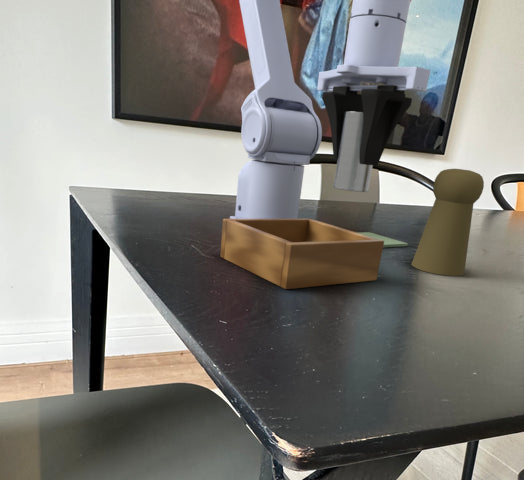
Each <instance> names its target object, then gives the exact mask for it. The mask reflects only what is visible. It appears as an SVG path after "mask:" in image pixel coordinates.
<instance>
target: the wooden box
mask: <svg viewBox="0 0 524 480" xmlns="http://www.w3.org/2000/svg"><path fill="white" fill-rule="evenodd" d="M220 240H221V242H220V254H219V255H220V258H222V259H224V260H226V261H227V262H230V263H232V264H234V265H236V266H238V267H240V268H242V269H244V270H245V271H247V272H250V273H251V274H253V275H256V276H258V277H260V278H262V279H264V280H266V281H267V282H270V283H272V284H274V285H276V286H278V287H280V288H281V289H284V290H294V289H303V288H313V287H323V286H332V285H333V286H334V285H343V284H351V283H363V282H372V281H373V282H374V281H377V279H378V274H379V269H380V264H381V259H382V255H383V249H384V248H383V245H384V241H383V240H379V239H376V238H373V237H369V236H366V235H363V234H360V233H359V232H357V231H353V230H349V229H347V228H343V227H339V226H336V225H334V224H330V223H326V222H323V221H319V220H316V219H313V218H305V217H304V218H302V217H301V218H299V217H298V218H282V219H230V218H223V219H222V228H221V239H220Z"/></svg>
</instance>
